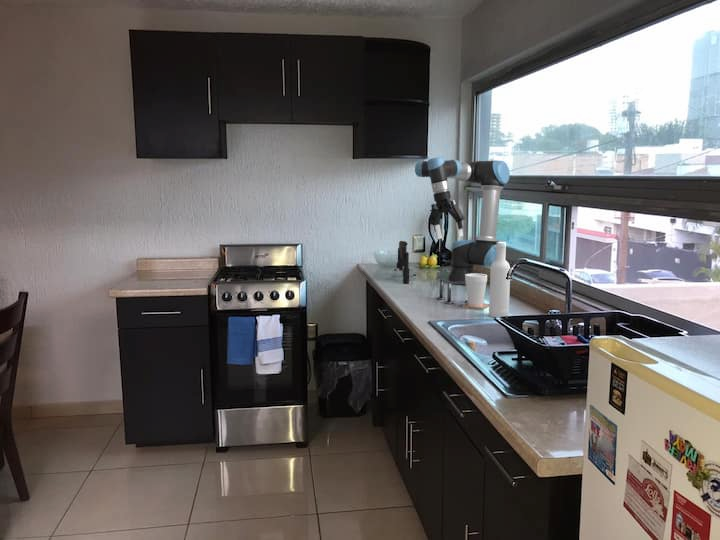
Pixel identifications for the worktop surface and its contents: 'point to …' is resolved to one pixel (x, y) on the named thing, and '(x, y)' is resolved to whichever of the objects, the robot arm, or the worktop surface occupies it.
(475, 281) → the foam cup
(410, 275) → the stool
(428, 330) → the worktop surface
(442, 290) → the bent rail
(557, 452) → the worktop surface
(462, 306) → the coaster
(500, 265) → the bottle
